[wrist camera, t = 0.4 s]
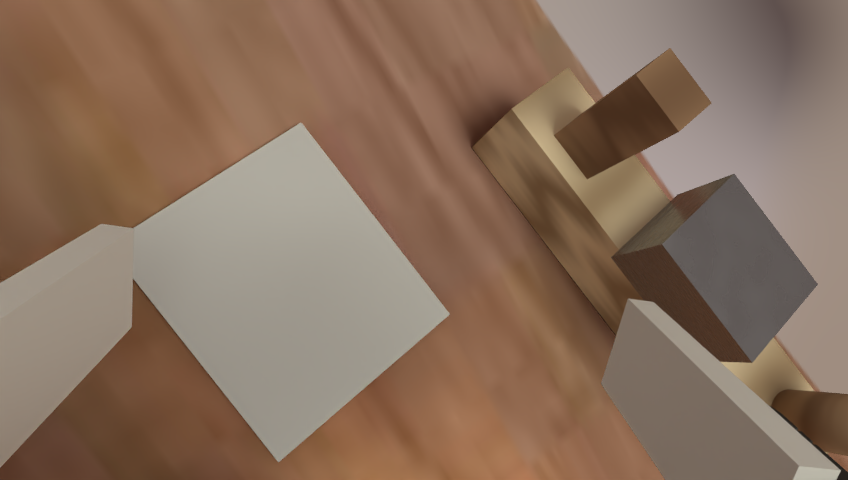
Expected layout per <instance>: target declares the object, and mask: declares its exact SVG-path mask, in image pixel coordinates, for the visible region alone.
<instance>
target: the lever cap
mask: <svg viewBox="0 0 848 480" xmlns="http://www.w3.org/2000/svg"><path fill="white" fill-rule="evenodd" d="M611 258H612V260H613V261H614V262H615V264H616V265H617V266H618V267H619V269H620V270H621V271H622V273H623V274H624V275H625V277H626V278H627V279H628V281H629V282H630V283H631V284H632V286H633V287H634V288H635V290H636V291H637V292H638V294H639V295H640V296H641V297H642V299H643V300H644V301H650V302H654V303H655V304H656V305H657V306H659V307H660V308H661V309H662V310H663V311H664V312H665V313H666V314H667V315H669V316H670V317H671V318H672V319H673V320H674V321H675V322H676V323H677V324H679V325H680V326H681V327H682V328H683V329H684V330H685V331H686V332H687V333H689V334H690V335H691V336H692V337H693V338H694V339H695V340H696V341H697V342H699V343H700V344H701V345H702V346H703V347H704V348H705V349H706V350H707V351H709V352H710V353H711V354H712V355H713V356H714V357H715V358H716V359H717V360H719V361H720V362H742V363H753V361H754V360H755V359H756V358H757V357H758V355H759V354H760V353H761V352H762V351H763V349H764V348H765V347H766V346H767V345H768V343H769V342H770V341H771V340H772V339H773V337H774V336H775V335H776V334H777V333H778V331H779V330H780V329H781V328H782V327H783V325H784V324H785V323H786V322H787V321H788V319H789V318H790V317H791V316H792V315H793V313H794V312H795V311H796V310H797V309H798V307H799V306H800V305H801V304H802V303H803V301H804V300H805V299H806V298H807V297H808V295H809V294H810V293H811V292H812V291H813V289H814V288H815V287H816V286H817V283H816V281H815V280H814V279H813V277H812V276H811V275H810V273H809V272H808V271H807V269H806V268H805V267H804V265H803V264H802V263H801V262H800V260H799V259H798V258H797V256H796V255H795V254H794V252H793V251H792V250H791V248H790V247H789V246H788V244H787V243H786V242H785V240H784V239H783V238H782V236H781V235H780V234H779V232H778V231H777V230H776V228H775V227H774V226H773V224H772V223H771V222H770V220H769V219H768V218H767V217H766V215H765V214H764V213H763V211H762V210H761V209H760V207H759V206H758V205H757V203H756V202H755V201H754V199H753V198H752V197H751V195H750V194H749V193H748V191H747V190H746V189H745V188H744V186H743V185H742V183H741V182H740V181H739V180H738V178H737V177H736V175H735V174H732V175H730V176H727V177H725V178H722V179H719V180H716V181H713V182H711V183H708V184H706V185H703V186H700V187H697V188H694V189H692V190H689V191H686V192H684V193H681V194H678V195H677V196H676V197H675V198H674V199H673V200H671V201H670V202H669V203H668V204H667V205H666V206H665V207H664V208H663V209H662V210H661V211H660V212H659V213H658V214H657V215H656V216H654V217H653V218H652V219H651V220H650V221H649V222H648V223H647V224H646V225H645V226H644V227H643V228H642V229H641V230H640V231H639V232H637V233H636V234H635V235H634V236H633V237H632V238H631V239H630V240H629V241H628V242H627V243H626V244H625V245H624V246H623V247H622V248H620V249H619V250H618V251H617V252H616V253H615V254H614V255H613V256H612V257H611Z"/></svg>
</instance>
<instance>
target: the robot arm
mask: <svg viewBox="0 0 848 480" xmlns="http://www.w3.org/2000/svg"><path fill="white" fill-rule="evenodd" d="M133 242H134V228H127V227H120V226H113V225H106V224H100V225H98V226H97V227H95V228H93V229H92V230H90V231H88V232H87V233H85V234H83V235H81V236H80V237H78V238H76V239H75V240H73V241H71V242H69V243H68V244H66V245H64V246H63V247H61V248H59V249H58V250H56V251H54V252H52V253H51V254H49V255H47V256H46V257H44V258H42V259H40V260H39V261H37V262H35V263H34V264H32V265H30V266H28V267H27V268H25V269H23V270H22V271H20V272H18V273H17V274H15V275H13V276H11V277H10V278H8V279H6V280H5V281H3V282H1V283H0V467H1V466H2V465H3V464H4V463H5V462H6V461H7V460H8V459H9V458H10V457H11V456H12V455H13V453H14V452H15V451H16V450H17V449H18V448H19V447H20V446H21V445H22V444H23V443H24V442H25V441H26V440H27V439H28V437H29V436H30V435H31V434H32V433H33V432H34V431H35V430H36V429H37V428H38V427H39V426H40V425H41V424H42V422H43V421H44V420H45V419H46V418H47V417H48V416H49V415H50V414H51V413H52V412H53V411H54V410H55V409H56V408H57V406H58V405H59V404H60V403H61V402H62V401H63V400H64V399H65V398H66V397H67V396H68V395H69V394H70V393H71V392H72V390H73V389H74V388H75V387H76V386H77V385H78V384H79V383H80V382H81V381H82V380H83V379H84V378H85V377H86V376H87V374H88V373H89V372H90V371H91V370H92V369H93V368H94V367H95V366H96V365H97V364H98V363H99V362H100V361H101V359H102V358H103V357H104V356H105V355H106V354H107V353H108V352H109V351H110V350H111V349H112V348H113V347H114V346H115V345H116V343H117V342H118V341H119V340H120V339H121V338H122V337H123V336H124V335H125V334H126V333H127V332H128V331H129V330H130V329H131V327H132V291H133ZM601 385H602V386H603V388H604V389H605V391H606V392H607V394H608V395H609V397H610V398H611V400H612V401H613V403H614V404H615V405H616V407H617V408H618V410H619V411H620V413H621V414H622V416H623V417H624V419H625V420H626V422H627V423H628V425H629V426H630V428H631V429H632V431H633V432H634V434H635V435H636V437H637V438H638V440H639V441H640V443H641V444H642V446H643V447H644V449H645V450H646V452H647V453H648V455H649V456H650V458H651V459H652V461H653V462H654V464H655V465H656V467H657V468H658V470H659V471H660V473H661V474H662V476H663V477H664V479H665V480H848V472H847V471H846V470H844V469H843V468H842V467H841V466H840V465H839V464H838V463H837V462H835V461H834V460H833V459H832V458H831V457H830V456H829V455H828V454H826V453H825V452H824V451H823V450H822V449H821V448H820V447H819V446H817V445H815V444H813V441H812V440H811V439H810V438H808V437H807V436H806V435H805V434H804V433H803V432H802V431H798V428H797V427H796V426H795V425H794V424H793V423H792V422H791V421H789V420H788V419H787V418H786V417H785V416H784V415H783V414H782V413H780V412H779V411H777V410H776V409H774V408H773V407H771V406H769V405H768V404H766V403H765V402H764V401H763V400H762V399H761V398H760V397H759V396H758V395H756V394H755V393H754V392H753V391H752V390H751V389H750V388H749V387H748V386H746V385H745V384H744V383H743V382H742V381H741V380H740V379H739V378H738V377H736V376H735V375H734V374H733V373H732V372H731V371H730V370H729V369H728V368H726V367H725V366H724V365H723V364H722V363H721V362H720V361H719V360H717V359H716V358H715V357H714V356H713V355H712V354H711V353H710V352H709V351H707V350H706V349H705V348H704V347H703V346H702V345H701V344H700V343H699V342H697V341H696V340H695V339H694V338H693V337H692V336H691V335H690V334H689V333H687V332H686V331H685V330H684V329H683V328H682V327H681V326H680V325H679V324H677V323H676V322H675V321H674V320H673V319H672V318H671V317H670V316H669V315H667V314H666V313H665V312H664V311H663V310H662V309H661V308H660V307H659V306H657V305H656V304H655V303H654V302H650V301H643V300H636V299H629V298H628V300H627V303H626V306H625V309H624V313H623V316H622V319H621V322H620V325H619V328H618V332H617V335H616V338H615V341H614V344H613V347H612V351H611V354H610V357H609V360H608V363H607V367H606V370H605V373H604V376H603V379H602V382H601Z"/></svg>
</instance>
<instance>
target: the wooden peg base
mask: <svg viewBox="0 0 848 480" xmlns="http://www.w3.org/2000/svg"><path fill="white" fill-rule="evenodd" d="M710 104H711V102H710V100H709V99H708V98H707V96H706V95H705V94H704V92H703V91H702V90H701V88H700V87H699V86H698V84H697V83H696V82H695V80H694V79H693V78H692V76H691V75H690V74H689V72H688V71H687V70H686V68H685V67H684V66H683V65H682V63H681V62H680V61H679V59H678V58H677V57H676V55H675V54H674V53H673V51H672V50H671V49H670V48H669V49H668V50H667V51H665V52H664V53H663V54H661V55H660V56H659V57H657V58H656V59H655V60H653V61H652V62H650V63H649V64H648V65H646V66H645V67H644V68H642V69H641V70H640V71H638V72H637V73H636V74H634V75H633V76H632V77H630V78H629V79H628V80H626V81H625V82H623V83H622V84H621V85H619V86H618V87H617V88H615V89H614V90H613V91H611V92H610V93H609V94H607V95H606V96H605V97H603V98H602V99H600V100H599V101H598V102H596V103H595V102H594V101H593V99H592V98H591V97H590V95H589V94H588V93H587V91H586V90H585V89H584V87H583V86H582V85H581V84H580V82H579V81H578V80H577V78H576V77H575V76H574V74H573V73H572V72H571V70H570V69H569V68H567V69H565V70H564V71H562V72H561V73H560V74H558V75H557V76H556V77H554V78H553V79H552V80H550V81H549V82H547V83H546V84H545V85H543V86H542V87H541V88H539V89H538V90H537V91H535V92H534V93H532V94H531V95H530V96H528V97H527V98H526V99H524V100H523V101H522V102H520V103H519V104H517V105H516V106H515V107H513V108H512V109H511V110H510V111H509V112H508V113H507V114H506V115H505V116H504V117H503V118H502V119H500V120H499V121H498V122H497V123H496V124H495V125H494V126H493V127H492V128H491V129H490V130H489V131H488V132H487V133H486V134H485V135H484V136H483V137H482V138H481V139H480V140H479V141H478V142H477V143H476V144H475V145H474V146H473V147H472V149H473V150H474V151H475V152H476V154H477V155H478V156H479V158H480V159H481V160H482V162H483V163H484V164H485V165H486V167H487V168H488V169H489V171H490V172H491V173H492V175H493V176H494V177H495V178H496V180H497V181H498V182H499V184H500V185H501V186H502V188H503V189H504V190H505V192H506V193H507V194H508V195H509V197H510V198H511V199H512V201H513V202H514V203H515V205H516V206H517V207H518V208H519V210H520V211H521V212H522V214H523V215H524V216H525V218H526V219H527V220H528V221H529V223H530V224H531V225H532V227H533V228H534V229H535V231H536V232H537V233H538V234H539V236H540V237H541V238H542V240H543V241H544V242H545V244H546V245H547V246H548V248H549V249H550V250H551V251H552V253H553V254H554V255H555V257H556V258H557V259H558V261H559V262H560V263H561V264H562V266H563V267H564V268H565V270H566V271H567V272H568V274H569V275H570V276H571V277H572V279H573V280H574V281H575V283H576V284H577V285H578V287H579V288H580V289H581V290H582V292H583V293H584V294H585V296H586V297H587V298H588V300H589V301H590V302H591V304H592V305H593V306H594V307H595V309H596V310H597V311H598V313H599V314H600V315H601V317H602V318H603V319H604V320H605V322H606V323H607V324H608V326H609V327H610V328H611V330H612V331H613V332H614V333H615V335H617V332H618V328H619V325H620V322H621V319H622V316H623V313H624V309H625V306H626V303H627V300H628V298H629V299H636V300H643V299H642V297H641V296H640V295H639V294H638V292H637V291H636V290H635V288H634V287H633V286H632V284H631V283H630V282H629V281H628V279H627V278H626V277H625V275H624V274H623V273H622V271H621V270H620V269H619V267H618V266H617V265H616V264H615V262H614V261H613V260H612V258H611V257H612V256H613V255H614V254H615V253H616V252H617V251H618V250H619V249H620V248H622V247H623V246H624V245H625V244H626V243H627V242H628V241H629V240H630V239H631V238H632V237H633V236H634V235H635V234H636V233H637V232H639V231H640V230H641V229H642V228H643V227H644V226H645V225H646V224H647V223H648V222H649V221H650V220H651V219H652V218H653V217H654V216H656V215H657V214H658V213H659V212H660V211H661V210H662V209H663V208H664V207H665V206H666V205H667V204H668V203H669V202H670V201H669V199H668V198H667V197H666V195H665V194H664V193H663V191H662V190H661V189H660V187H659V186H658V185H657V184H656V182H655V181H654V180H653V178H652V177H651V176H650V174H649V173H648V172H647V170H646V169H645V168H644V166H643V165H642V164H641V162H640V161H639V160H638V159H637V157H636V156H635V154H637V153H639V152H641V151H643V150H645V149H647V148H648V147H650V146H652V145H654V144H656V143H658V142H660V141H662V140H664V139H666V138H668V137H670V136H671V135H673V134H675V133H677V132H679V131H680V130H681V129H683V128H684V126H686V125H687V124H688V123H689V122H690V121H692V120H693V119H694V118H695V117H696V116H697V115H698V114H700V113H701V112H702V111H703V110H704V109H705V108H706V107H707V106H708V105H710ZM643 301H644V300H643ZM721 363H722V364H723V365H724V366H725V367H726V368H728V369H729V370H730V371H731V372H732V373H733V374H734V375H735V376H736V377H738V378H739V379H740V380H741V381H742V382H743V383H744V384H745V385H746V386H748V387H749V388H750V389H751V390H752V391H753V392H754V393H755V394H756V395H758V396H759V397H760V398H761V399H762V400H763V401H764V402H765V403H766V404H768V405H769V406H771V407H773V408H774V409H776V410H777V411H779V412H780V413H782V414H783V415H784V416H785V417H786V418H787V419H788V420H789V421H791V422H792V423H793V424H794V425H795V426H796V427H797V428H798V431H802V432H803V433H804V434H805V435H806V436H807V437H808V438H810V439H811V440H812V441H813V444H815V445H817V446H819V447H820V448H821V449H822V450H823V451H824V452H825V453H826V454H828V453H834V454H840V455H845V456H848V394H840V393H827V392H815V391H814V390H813V389H812V388H811V386H810V385H809V384H808V382H807V381H806V380H805V378H804V377H803V376H802V374H801V373H800V372H799V370H798V369H797V368H796V366H795V365H794V364H793V363H792V361H791V360H790V359H789V357H788V356H787V355H786V353H785V352H784V351H783V349H782V348H781V347H780V345H779V344H778V343H777V341H776V340H775V339H774V337H773V339H772V340H771V341H770V342H769V343H768V345H767V346H766V347H765V348H764V349H763V351H762V352H761V353H760V354H759V355H758V357H757V358H756V359H755V360H754V361H753V363H742V362H721Z"/></svg>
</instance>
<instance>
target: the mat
mask: <svg viewBox="0 0 848 480" xmlns="http://www.w3.org/2000/svg"><path fill="white" fill-rule="evenodd" d="M133 279H134V280H135V281H136V283H137V284H138V285H139V287H140V288H141V289H142V290H143V292H144V293H145V294H146V295H147V297H148V298H149V299H150V300H151V302H152V303H153V304H154V306H155V307H156V308H157V309H158V311H159V312H160V313H161V314H162V316H163V317H164V318H165V319H166V321H167V322H168V323H169V325H170V326H171V327H172V328H173V330H174V331H175V332H176V333H177V335H178V336H179V337H180V338H181V340H182V341H183V342H184V343H185V345H186V346H187V347H188V349H189V350H190V351H191V352H192V354H193V355H194V356H195V357H196V359H197V360H198V361H199V362H200V364H201V365H202V366H203V368H204V369H205V370H206V371H207V373H208V374H209V375H210V376H211V378H212V379H213V380H214V381H215V383H216V384H217V385H218V387H219V388H220V389H221V390H222V392H223V393H224V394H225V395H226V397H227V398H228V399H229V400H230V402H231V403H232V404H233V405H234V407H235V408H236V409H237V411H238V412H239V413H240V414H241V416H242V417H243V418H244V419H245V421H246V422H247V423H248V424H249V426H250V427H251V428H252V430H253V431H254V432H255V433H256V435H257V436H258V437H259V438H260V440H261V441H262V442H263V443H264V445H265V446H266V447H267V449H268V450H269V451H270V452H271V454H272V455H273V456H274V457H275V459H276V460H277V461H278V462H279V461H281V460H282V459H283V458H284V457H285V456H286V455H288V454H289V453H290V452H291V451H292V450H293V449H294V448H296V447H297V446H298V445H299V444H300V443H301V442H303V441H304V440H305V439H306V438H307V437H308V436H310V435H311V434H312V433H313V432H314V431H315V430H316V429H318V428H319V427H320V426H321V425H322V424H323V423H325V422H326V421H327V420H328V419H329V418H330V417H332V416H333V415H334V414H335V413H336V412H337V411H338V410H340V409H341V408H342V407H343V406H344V405H345V404H347V403H348V402H349V401H350V400H351V399H352V398H354V397H355V396H356V395H357V394H358V393H359V392H360V391H362V390H363V389H364V388H365V387H366V386H367V385H369V384H370V383H371V382H372V381H373V380H374V379H376V378H377V377H378V376H379V375H380V374H381V373H382V372H384V371H385V370H386V369H387V368H388V367H389V366H391V365H392V364H393V363H394V362H395V361H396V360H398V359H399V358H400V357H401V356H402V355H403V354H404V353H406V352H407V351H408V350H409V349H410V348H411V347H413V346H414V345H415V344H416V343H417V342H418V341H420V340H421V339H422V338H423V337H424V336H425V335H426V334H428V333H429V332H430V331H431V330H432V329H433V328H435V327H436V326H437V325H438V324H439V323H440V322H442V321H443V320H444V319H445V318H446V317H447V316H448V315H450V314H449V312H448V311H447V310H446V309H445V307H444V306H443V305H442V303H441V302H440V301H439V299H438V298H437V297H436V296H435V294H434V293H433V292H432V290H431V289H430V288H429V287H428V285H427V284H426V283H425V281H424V280H423V279H422V278H421V276H420V275H419V274H418V272H417V271H416V270H415V269H414V267H413V266H412V265H411V263H410V262H409V261H408V260H407V258H406V257H405V256H404V254H403V253H402V252H401V250H400V249H399V248H398V247H397V245H396V244H395V243H394V241H393V240H392V239H391V238H390V236H389V235H388V234H387V232H386V231H385V230H384V229H383V227H382V226H381V225H380V223H379V222H378V221H377V220H376V218H375V217H374V216H373V214H372V213H371V212H370V211H369V209H368V208H367V207H366V205H365V204H364V203H363V201H362V200H361V199H360V198H359V196H358V195H357V194H356V192H355V191H354V190H353V189H352V187H351V186H350V185H349V183H348V182H347V181H346V180H345V178H344V177H343V176H342V174H341V173H340V172H339V171H338V169H337V168H336V167H335V165H334V164H333V163H332V162H331V160H330V159H329V158H328V156H327V155H326V154H325V152H324V151H323V150H322V149H321V147H320V146H319V145H318V143H317V142H316V141H315V140H314V138H313V137H312V136H311V134H310V133H309V132H308V131H307V129H306V128H305V127H304V125H303V124H302V123H299V124H298V125H296V126H295V127H293V128H291V129H290V130H288V131H287V132H285V133H283V134H282V135H280V136H279V137H277V138H276V139H274V140H272V141H271V142H269V143H268V144H266V145H264V146H263V147H261V148H260V149H258V150H256V151H255V152H253V153H252V154H250V155H249V156H247V157H245V158H244V159H242V160H241V161H239V162H237V163H236V164H234V165H233V166H231V167H230V168H228V169H226V170H225V171H223V172H222V173H220V174H218V175H217V176H215V177H214V178H212V179H210V180H209V181H207V182H206V183H204V184H203V185H201V186H199V187H198V188H196V189H195V190H193V191H191V192H190V193H188V194H187V195H185V196H183V197H182V198H180V199H179V200H177V201H176V202H174V203H172V204H171V205H169V206H168V207H166V208H164V209H163V210H161V211H160V212H158V213H156V214H155V215H153V216H152V217H150V218H149V219H147V220H145V221H144V222H142V223H141V224H139V225H137V226H136V227H134V242H133Z"/></svg>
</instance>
